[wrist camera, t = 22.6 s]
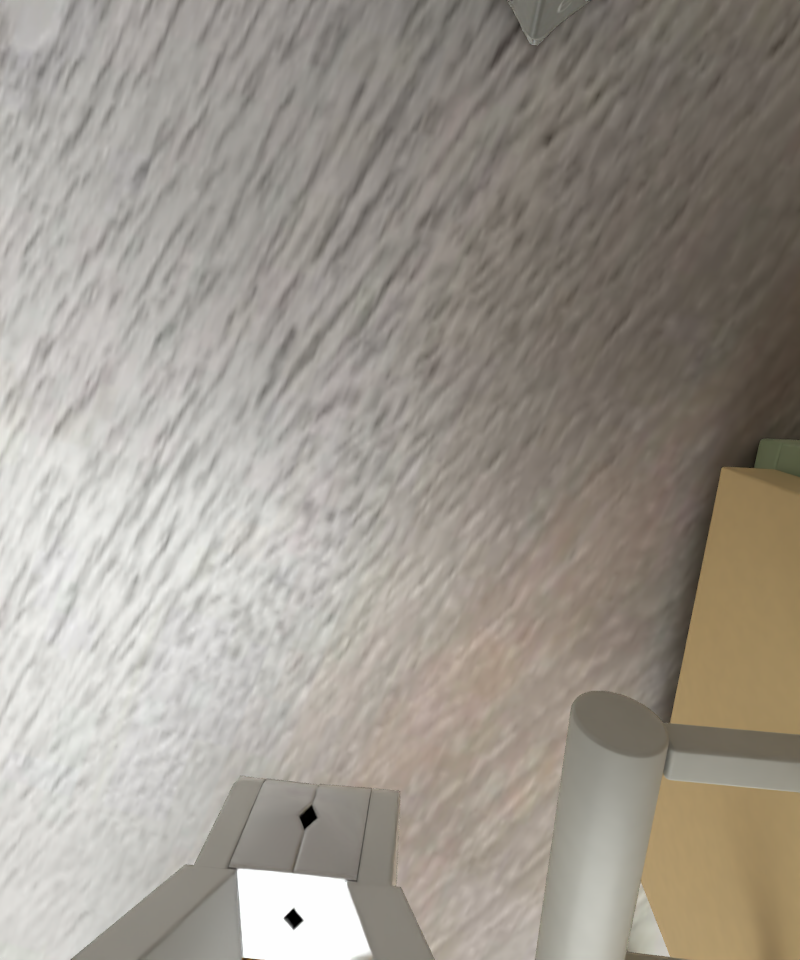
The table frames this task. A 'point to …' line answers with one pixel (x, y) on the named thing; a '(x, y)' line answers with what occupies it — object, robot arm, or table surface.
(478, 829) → the table surface
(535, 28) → the cosmetic box
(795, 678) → the drawer
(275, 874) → the robot arm
